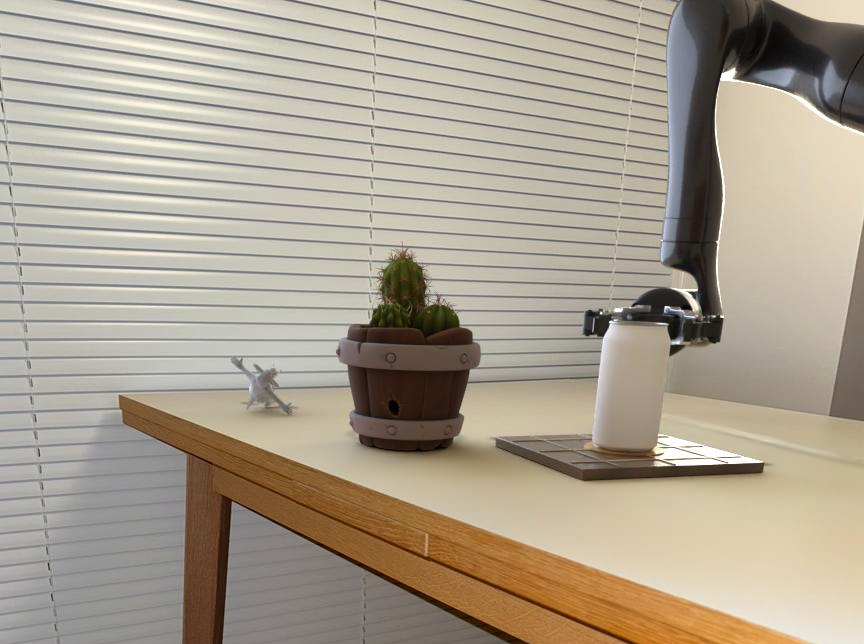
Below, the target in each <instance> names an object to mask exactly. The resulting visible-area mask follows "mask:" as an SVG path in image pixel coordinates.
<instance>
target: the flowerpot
mask: <svg viewBox="0 0 864 644" xmlns="http://www.w3.org/2000/svg"><path fill="white" fill-rule="evenodd" d="M411 247H412V245H410V246H409V247H406V248H405V249H404V244H403V242H401V249H398V248H395V249H392V250H391V249H390V248H389V251H390V252H388V254H389V255H388V257H387V258H386V259H384V262H385V261H388V264H387V266H384V267H380V268H378V267H376V268H375V267H374V270H376V269H377V270H379V271H378V272H377V274H378V276H375V277H376V279H377V280H376V282H375V283H374V285H375V286H377V284H376V283H379V282H380V283H379V284H378V286H377V287H376V288H372V290H376V291H377V293H376V296H375V300H374V301H373V303H372V305H371V306H372V307H371V308H372V313H371V319H370V320H369V323H354V324H351V325H349V326H348V329H347V336H346V337H342V338H340V339H339V340H338V344H337V348H336V349H335V354H336V356H337V359H338V362H339V363H341V364H343V365H347V377H348V382H349V387H350V391H351V396H352V397H351V398H352V400H353V407H354V409H351V411H350V412H349V414H348V416H349V422H348V423H349V426H350V427H351V429H352V431H353V432H355V433H356V434H358V441H359V443H360V444H363V445H365V446H367V447H370V446H371V447H377V448H379V449H383V450H384V449H385V450H393V451H416V450H417V449H419V450H422V451H429V450H434V449H435V448H437V447H438V446H439V447H441V448H448V447H450V446H451V445H453V443H454V438H455V437H457V436H459V435H460V434H461V431H462V428H463V426H464V421H465V415H464V414H463V413H461V412H460V411H461V408H462V405H463V404H462V403H463V402H464V401H463V400H464V397H465V394H466V390H467V386H468V383H469V377H470V374H471V373H470V371H471V370H473V369H476V368H478V367H479V366H480V364H481V358H482V349H481V344H480V342H477V341H476V342H475V341H474V333H473V330H470V328H468V327H467V328H466V327H462V326H461V325H460V323H461V322H460V318H459V315H458V313H461V310H460V311H456V312H455V311H454V308H453V307H456V306H457V307H458V304H453V303H452V302H450V301H449V302H447V301H446V298H442V294H440V295H439V294H438V292H437V291H433V293H434V294H435V295H436V299H434V298H432V297H431V296H430V294H432V292H431V290H430V288H431V287H432V288H433V285H430V284H431V283H432V281H433V277H432V276H429V275H430V273H429V270H428V269H427V268H425V267H429V266H430V264H426V265H423V264H424V262H423V261H421V265H420V264H418V260H416V258H417V257H418V256H417V255H415V253H414V251H413V250H411V253H410V254H409V252H408V250H409V249H411ZM392 251H393V252H396V253H395V254H394V255H393V253H392ZM381 264H384V263H383V262H382V263H381ZM424 271H425V272H424ZM380 273H381V274H380ZM429 278H430V279H431V281H430V280H428V279H429ZM378 296H379V297H378ZM378 300H381V301H380V302H379V301H378ZM432 300H433V301H432ZM375 302H377V303H376V305H377V307H374V304H375Z"/></svg>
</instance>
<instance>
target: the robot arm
mask: <svg viewBox="0 0 864 644" xmlns="http://www.w3.org/2000/svg"><path fill="white" fill-rule="evenodd" d="M665 40H666V41H665V67H666V68H665V73H666V105H667V107H666V108H667V109H666V110H667V111H666V112H667V158H668V159H667V179H666V192H665V202H664V211H663V221H662V229H661V236H660V245H659V262H660V264H661V265H662V267H665V268H667V269H671V270H674V271H678V272H682V273H685V274H688V275H690V276H691V277H692V278H693V280H694V281H695V283H696V289H683V288H682V289H680V288H675V287H657V288H653V289H650V290H647V291H645V292H644V293H642V294H641V295H639V296H638V297H637V298H636V299H635V300H634V301H633V302H632V304H631V305H630V307H629V306H617V307H615V308H614V310H613V311H609V310H607V309H605V310H604V308H598V309H587V310H584V311H583V320H582V329H581V335H582V336H584V337H590V336H596V337H597V338H602V339H603V338H604V336H605V334H606V332H607V330H608V329H609V326H610V323H609V321H639V322H657V323H667V324H669V325H668V326H667V330H668V334H669V337H670V341H671V343H670V353H669V358H670V357H672V356H674V355H676V354H678V353H681V351H683V350H685V349H686V348H694V349H695V348H698V349H701V348H707V347H709V346H710V345H712V344H713V345H714V344H715V345H716V344H717V343H721V340H722V333H723V325H724V320H725V316H724V315H723V314H724V313H723V304H722V300H721V291H720V285H719V275H718V274H719V273H718V253H719V246H720V245H719V244H720V242H719V241H720V237H721V230H722V222H723V217H724V208H725V181H724V173H723V167H722V161H721V155H720V151H719V145H718V144H719V143H718V138H717V123H716V121H717V117H716V116H717V115H716V114H717V103H718V95H719V89H720V84H721V81H724V82H725V81H727V82H728V81H729V82H738V83H739V82H741V83H746V84H751V85H757V86H761V87H766V88H770V89H774V90H777V91H780V92H783V93H784V94H785V93H786V94H788V95H790V96H792V97H794V98H795V99H797V100H798V101H799V102H800V103H802V104H803V105H804V106H806V107H807V108H808V109H809V110H811V111H813V113H815V114H817V116H820V117H821V118H823V119H825V120H826V121H828V122H830V123H832V124H834V125H836V126H838V127H840V128H843V129H846V130H849V131H851V132H854V133H857V134H860V135H862V136H864V24H858V23H850V22H836V21H826V20H821V19H818V18H814V17H811V16H808V15H805V14H803V13H801V12H798V11H797V10H794V9H792V8H789V7H787V6H785V5H783V4H781V3H779V2H777V1H775V0H678V1H677V3H676V4H675V6H674V8H673V9H672V12H671V15H670V18H669V21H668V25H667V31H666V39H665Z"/></svg>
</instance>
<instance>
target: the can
mask: <svg viewBox="0 0 864 644" xmlns="http://www.w3.org/2000/svg"><path fill="white" fill-rule="evenodd" d="M609 323H610V326H609V329H608V330H607V332H606V334H605V336H604V338H602V345H601V352H600V361H599V369H598V380H597V387H596V388H597V389H596V396H595V406H594V407H595V408H594V417H593V424H592V425H593V427H592V433H591V434H592V442H593V443H594V445H595V446H596V447H598V448H601V449H605V450H611V451H619V452H648V451H652V450H653V449H654V448H655V447H656V446H657V442H658V435H659V434H660V427H661V422H662V421H661V419H662V414H663V413H662V412H663V405H664V399H665V398H664V397H665V391H666V383H667V376H668V368H669V360H670V357H669V353H670V343H671V341H670V337H669V334H668V330H667V326H668V325H669V324H667V323H657V322H639V321H609Z"/></svg>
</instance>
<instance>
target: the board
mask: <svg viewBox="0 0 864 644" xmlns="http://www.w3.org/2000/svg"><path fill="white" fill-rule="evenodd" d="M592 434H593V433H590V434H589V433H588V434H582V433H581V434H553V435H552V434H551V435H550V434H548V435H512V436H511V435H509V436H506V435H505V436H496V437H495V443H494V445H495V447H497V448H499V449H502V450H505V451H507V452H509V453H511V454H515V455H517V456H520V457H523V458H525V459H526V460H527V459H528V460H531V461H533V462H535V463H538V464H541V465H542V466H545V467H548V468H551V469H552V470H555V471H559V472H561V473H562V474H565V475H568V476H571V477H574V478H575V479H579V480H581V481H597V480H598V481H599V480H618V479H619V480H621V479H643V478H644V479H645V478H664V477H665V478H666V477H689V476H711V475H713V476H714V475H729V474H730V475H734V474H757V473H759V474H761V473H764V469H765V461H761V460H758V459H754V458H750V457H746V456H743V455H739V454H735V453H733V452H732V453H731V452H729V451H725V450H721V449H717V448H713V447H709V446H706V445H703V444H699V443H695V442H692V441H689V440H684V439H680V438H678V437H677V438H676V437H673V436H670V435H666V434H662V433H659V435H658V442H657V446H656V447H655V448H654V449H653V450H652V451H648V452H619V451H611V450H605V449H601V448H598V447H596V446H595V445H594V443H593V442H592Z"/></svg>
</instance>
